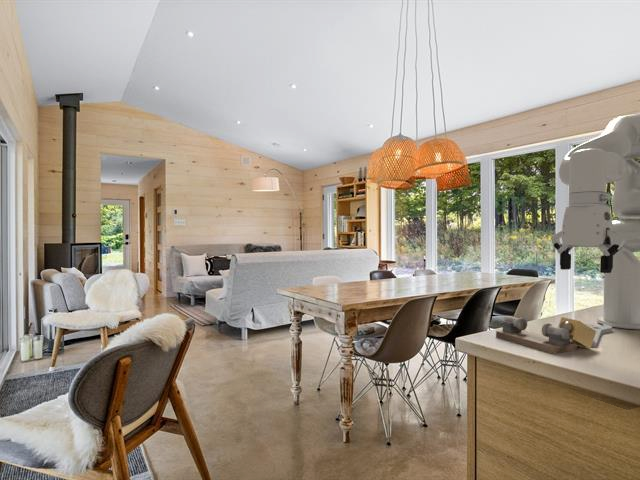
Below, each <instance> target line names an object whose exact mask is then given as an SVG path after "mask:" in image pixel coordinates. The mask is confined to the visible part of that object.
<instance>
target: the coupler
mask: <svg viewBox="0 0 640 480" xmlns="http://www.w3.org/2000/svg"><path fill="white" fill-rule="evenodd" d="M585 324H586V323H584V322H582V321H580V320H576V319H572V318H568V317H563V316H561V317H560V321H559V323H558V326H557V327H559V328H563V329H567V330H568V331H569V333H570V342H573V343H577V344H576V346H577V347H578V346H579V347H583V348H586V349H589V350H590V349H591V348H592V347H591V345H592V342H593V340H594V337H595V334H596V331H595V330H593V329H592V328H590V327H589V326H587V325H585Z"/></svg>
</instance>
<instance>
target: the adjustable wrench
mask: <svg viewBox="0 0 640 480" xmlns="http://www.w3.org/2000/svg"><path fill="white" fill-rule="evenodd" d="M584 324H585V325H587V326H589V327H590V328H592V329H593V330H595V331H596V334H595V337H594V340H593V342H592V345H591V348H597V347H598V344H599V341H600V338H601V336H602V335H604V334H608V333H609V334H610V333H612V332H613V327H611V326H609V325H604V324H601V326H599V325H598V326H597V325H594V324H593V323H584Z"/></svg>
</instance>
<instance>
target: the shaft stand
mask: <svg viewBox="0 0 640 480" xmlns="http://www.w3.org/2000/svg"><path fill="white" fill-rule="evenodd" d="M527 328H528V320H527V319H526V318H525V317H519V318H517V317H515V316H514V317H513V316H511V315H510V316H509V315H506V316H505V317H504V318H503V321H502V330H496V333H495V334H496V335H495V336H496V338H499V339H503V340H505V341H509V342H512V343H517V344H519V345H522V344H523V346H527V347H530V348H533V349H537V350H540V351H544V352H547V353H551V354H554V355H555V354H559V353H566V352H570V351H576V350H577V345H576V344H577V343H573V342H570V333H569V331H568V330H567V329H563V328H559V327H558V326H553V325H552V324H551V323H548V322H546V323H543V325H542V327H541V333H542V334H541V333H538V332H532V331H529V330H526V329H527Z"/></svg>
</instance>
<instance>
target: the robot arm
mask: <svg viewBox="0 0 640 480" xmlns="http://www.w3.org/2000/svg"><path fill="white" fill-rule="evenodd" d="M635 159H640V112H638V113H633V114H628V115H622V116H618V117H617V118H614V119H613V120H611V121H610V122H609V123H608V124H607V125H606V127H605V128H604V130H603V131H602V132H601V134H600V135H598V136H597V137H594V138H592V139H590V140H589V141H586V142H584V143H582V144H580V145H579V144H578V145H577V146H576V147H574V148H572V149H571V150H570V151H568V153H566V155H565V156H564V158H563V159H562V160H561V161H560V162H561V163H560V164H559V168H558V169H559V170H558V175H559V179H560V181H561V182H562V183H563V184H564V185H566V186H568V204H567V205H568V207H567V206H566V207H565V212H564V215H563V218H562V219H563V220H562V227H561V231H559V232H557V233H555V234H553V235H552V236H551V237H550V239H551V242H552V244H553V247H554V248H555V249H556V250H557V253H558V254H559V265H560V268H559V269H560V270H565V271H566V270H571V269H572V254H571V253H570V252H571V251H572V249H574V248H576V247H577V248H597V249H599V250H598V251H600V252H601V254H603V255H601V256H600V264H599V265H600V269H599V272H600V273H601V274H603V276H604V277H603V311H602V312H603V316H600V317H599V316H598V317H597V319H596V321H597V323H598V324H600V325H602V324H604V325H609V326H611V327H612V328H619V329H627V330H640V259H639V258H638V256H636V255H635V254H634V253H640V162H638V161H637V160H635ZM609 183H614V188H613V198H612V197H611V194H607V193H606V189H607V185H606V184H609ZM611 199H612V204H611V208H610V206H609V205H607V201H611ZM611 210H612V212H611ZM612 213H613V215H614V216H615V217H617V218H620V219H615V220H613V217H612Z"/></svg>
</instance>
